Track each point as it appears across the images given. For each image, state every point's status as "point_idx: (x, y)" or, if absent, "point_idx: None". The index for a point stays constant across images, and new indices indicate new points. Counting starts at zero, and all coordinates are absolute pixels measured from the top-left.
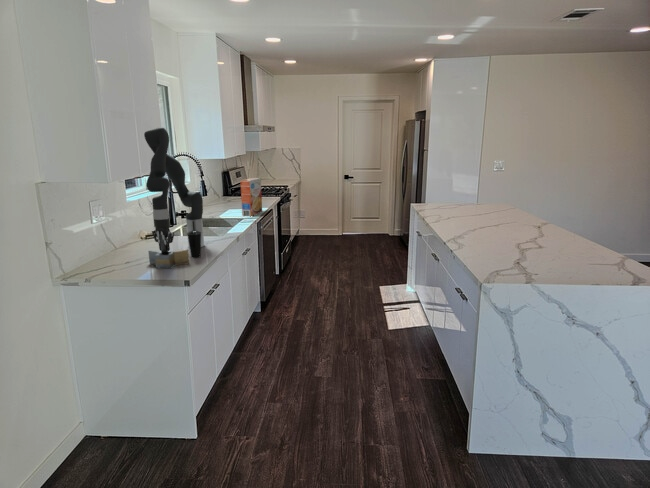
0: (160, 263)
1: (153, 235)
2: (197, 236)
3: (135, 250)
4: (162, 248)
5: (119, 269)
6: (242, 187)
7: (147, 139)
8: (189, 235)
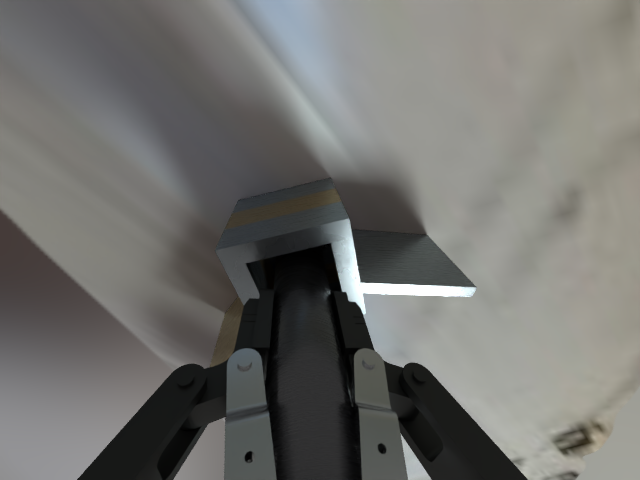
0: (300, 198)
1: (502, 462)
2: None
3: (584, 349)
4: (299, 301)
5: (581, 59)
6: None
7: None
8: None
